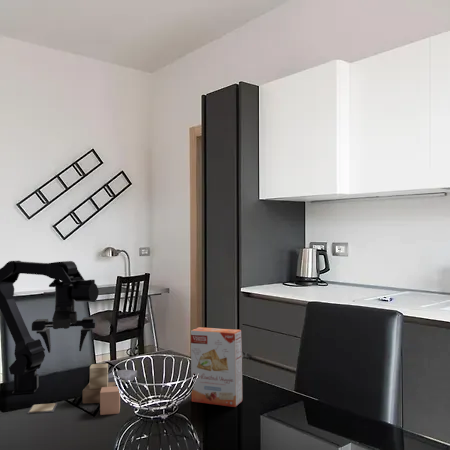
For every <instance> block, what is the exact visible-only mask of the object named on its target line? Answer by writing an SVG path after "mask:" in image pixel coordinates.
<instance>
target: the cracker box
mask: <svg viewBox="0 0 450 450" xmlns="http://www.w3.org/2000/svg"><path fill="white" fill-rule="evenodd" d="M242 339H243V338H242V330H241V329H234V328H233V329H232V328H214V327H200V326H199V327H196V328H194V329H191V330H190V371H191V372H190V377H191V378H192V377H193V375H194V374H195V375H197V374H198V373H199V375H198V378H197V381H196V383H195V385H194V388H193V390H192V392H191V393H190V394H191V402H192V403H193V402H194V403H202V404H209V405H217V406H223V407H224V406H225V407H231V408H237V406H238V405H239V404H241V403H242V402H243V354H242V353H243V351H242V349H243V345H242V343H243V342H242ZM191 378H190V379H191ZM194 381H195V378H194V379H193V382H194Z"/></svg>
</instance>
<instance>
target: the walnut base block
mask: <svg viewBox="0 0 450 450" xmlns="http://www.w3.org/2000/svg"><path fill="white" fill-rule="evenodd" d="M115 386H116V383H115V382H108V386H107V387H115ZM100 391H101V388H99V389H90V382H89V383H88V384H87V385H86V386H85V387H84V388H83V390H82V404H100Z"/></svg>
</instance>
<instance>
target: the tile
mask: <svg viewBox="0 0 450 450" xmlns="http://www.w3.org/2000/svg"><path fill="white" fill-rule="evenodd" d="M57 406H58V403H57V402H56V403H54V402H53V403H40V404H39V403H38V404H33V405H31V407H30V408H29V410H28V411H27V414H29V415H30V414H42V413H43V414H44V413H54V411H56V410H55V409H56V407H57Z"/></svg>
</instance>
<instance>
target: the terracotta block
mask: <svg viewBox="0 0 450 450" xmlns="http://www.w3.org/2000/svg"><path fill="white" fill-rule="evenodd" d="M99 408H100V410H99V411H100V412H99V414H100V416H102V415H103V416H105V415H116V414H119V415H120V411H121V410H120V409H121V392H120V393H119V390H118V387H117V386H115V387H102V388H101V391H100V403H99Z"/></svg>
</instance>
